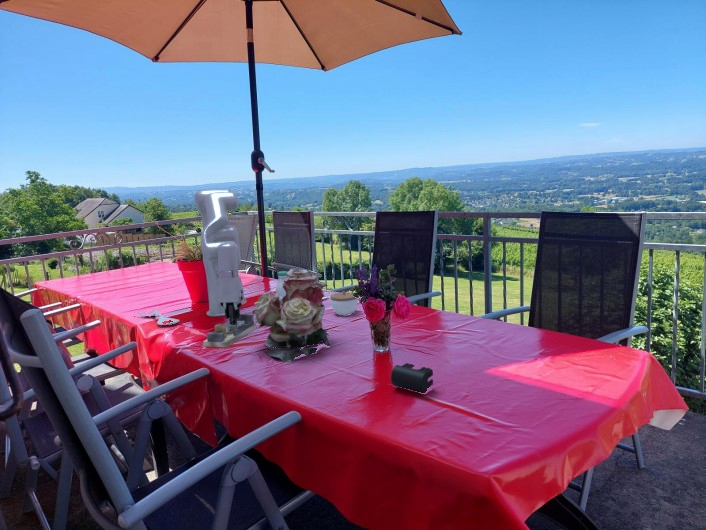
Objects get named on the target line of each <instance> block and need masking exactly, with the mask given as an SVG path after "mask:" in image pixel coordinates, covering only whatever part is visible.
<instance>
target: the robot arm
mask: <svg viewBox="0 0 706 530" xmlns="http://www.w3.org/2000/svg"><path fill="white" fill-rule="evenodd" d="M238 197H239V196H238V195H237V193H236V192H235V190H233V189H231V188H214V189H213V188H211V189H201V190H197V191H196V192H195V193H194V202H195V206H196V207H197V210H198V213H199V214H200V217H201V221H202V231H201V235H200V246H201V252H202V253H201V254H202V261H203V265H204V269H205V270H204V271H205V274H206V283H207V284H206V285H207V294H208V305H209V310H208V311H206V315H207V316H208V317H213V318H214V317H216V318H217V317H224V316H225V319H226V320H229V312H228V303H234V307H235V309H234V319H237V318H239V316H240V314H241V312H240V309H241V307H242V306H243V305H244V304H246V303H247V301H248V300H247V299H246V297H245V293H244V292H245V291H244V287H243V282H242V278H241V276H239V275H240V273H239V266H240V265H241V260H242V257H241V247H240V238H239V232H238V229H237V227H236V226H234V225H229V222H230V220H229V216H228V211H229V212H230V211H237V210H238V209H239V206H240V205H239V204H240V202H239V198H238Z"/></svg>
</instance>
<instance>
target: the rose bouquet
mask: <svg viewBox="0 0 706 530" xmlns="http://www.w3.org/2000/svg"><path fill="white" fill-rule="evenodd" d="M286 274H287V279H284V283H283V285H282V287H283V288H284V290H285V291H286V295H285V296H284V297H282V296H278V295H276V292H274V291H273V290H272V289H270V290H269V291H266V292H264V293H262V295H260V296H259V297H258V299H257V301H256V302H254V303H253V305H254V306H255V307H256V308H254V309H253V310H251V311H252V312H251V314H253V315H255V319H254V322H256V324H257V323H258V324H259V326H258V327H259V328H263V327H264V329H266V328H269V329H268V331H269V335H268V336H267V340H266V341H265V343H264V344H263V345H264V346H265V345H267V346H268V345H269V346H270V347H267V348H266V349H268V350H269V351H268V352H267V353H266V354H267V355H268V356H269V357H274V358H278V359H280V360H281V361H282V362H284V363H286V362H287V363H288V362H293V361H298V360H297V359H296V360H294V358H295V357H298V356H300V355H301V354H305V355H309V356H311V355H310V354H312V353H315V352H316V350H317V348H307V347H308V346H307V345H313V344H314V346H316V345H315V344H319V345H320V344H321V343H322V342H321V341H323V343H324V344H325V345H327V346H331V347H332V345H331V341H330V340H329V338H328V337H330V335H329V334H328V330H327V329H324V328H323V326H324V324H323V323H322V321H323V318H324V314H325V311H326V307H325V305H324V304H323V302H324V301H325V302H326V301H328V300H329V299H330V297H326V296H325V291H323V289H324V288H326V287H328V284H326V283H325V282H323V281H320V280H317V277H319V274H320V273H318V272H316V274H314V273H313V272H312V271H308V270H307V269H303V268H297V267H291V268H290V269H289V270H287V273H286ZM325 297H326V298H325ZM277 346H278V347H279V348H278V347H277ZM280 346H281V347H282V346H283V347H284V346H285V347H284V348H280ZM286 346H287V347H286ZM304 346H306V347H305V348H303V349H301V350H300V349H299V348H297V347H304ZM273 347H274V348H273ZM275 347H277V348H275ZM293 347H295V348H293ZM285 348H286V349H285ZM289 349H295V350H289ZM289 360H290V361H289Z"/></svg>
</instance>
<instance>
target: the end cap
mask: <svg viewBox="0 0 706 530" xmlns="http://www.w3.org/2000/svg"><path fill="white" fill-rule="evenodd" d="M414 367H415V364H413V363H408V362H405V363H404V364H402V365H398V364H396V365H394V367H393V368H392V371H391V374H390V381H391V384H392V386H394V387H395V386H398V387H402V388H406V389H410V390H413V391H417V392H421V393H425V392H426V391H427V388H429V387H431V386H433V385H434V379H430V380H429V378H431V377H433V376H434V373H433V371H434V370H433V369H432V368H430V367H425V366H422V367H420V368H419V369H415V368H414ZM428 380H429V381H428Z"/></svg>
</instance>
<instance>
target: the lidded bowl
mask: <svg viewBox="0 0 706 530" xmlns="http://www.w3.org/2000/svg"><path fill="white" fill-rule="evenodd" d="M352 293H353V291H352V292H351V291H349V292H347V291H346V290H343V291H341V292H336V293H332V294H331V295H330V305H331V308H332V310H333V311H334V313H336V314H339V315H348V314H352V313H353V314H354V313H355V312H356V310H357V308H358V304H359V303H358V299H359V298H355V297H354V296H353V294H352ZM353 314H352V315H353Z"/></svg>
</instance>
